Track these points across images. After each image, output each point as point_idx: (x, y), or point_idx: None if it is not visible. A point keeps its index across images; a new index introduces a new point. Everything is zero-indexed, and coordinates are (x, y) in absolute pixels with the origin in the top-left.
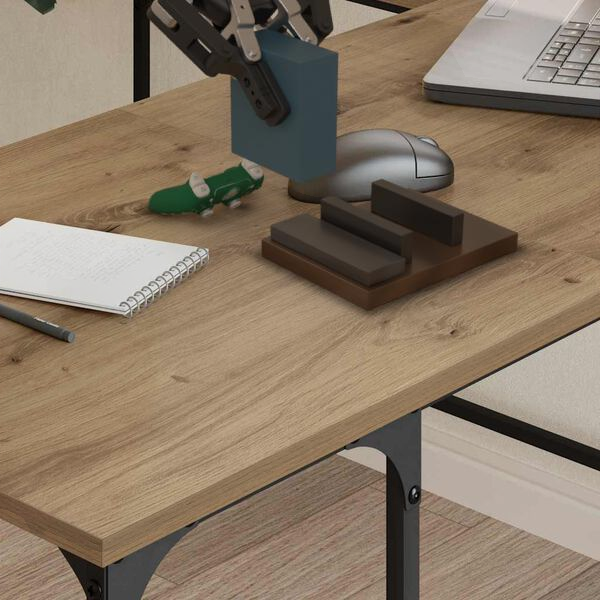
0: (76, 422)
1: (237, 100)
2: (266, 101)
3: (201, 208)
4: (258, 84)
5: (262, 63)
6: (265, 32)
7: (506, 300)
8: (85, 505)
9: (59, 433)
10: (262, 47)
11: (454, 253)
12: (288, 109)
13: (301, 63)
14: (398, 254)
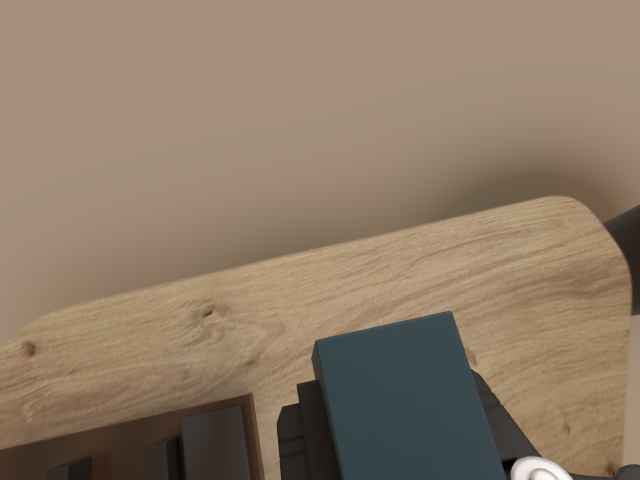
0: (571, 331)
1: None
2: (479, 378)
3: None
4: (503, 414)
5: (503, 452)
6: None
7: (118, 344)
8: (580, 225)
9: (586, 321)
10: None
11: (102, 437)
12: None
13: (446, 312)
14: (175, 442)
